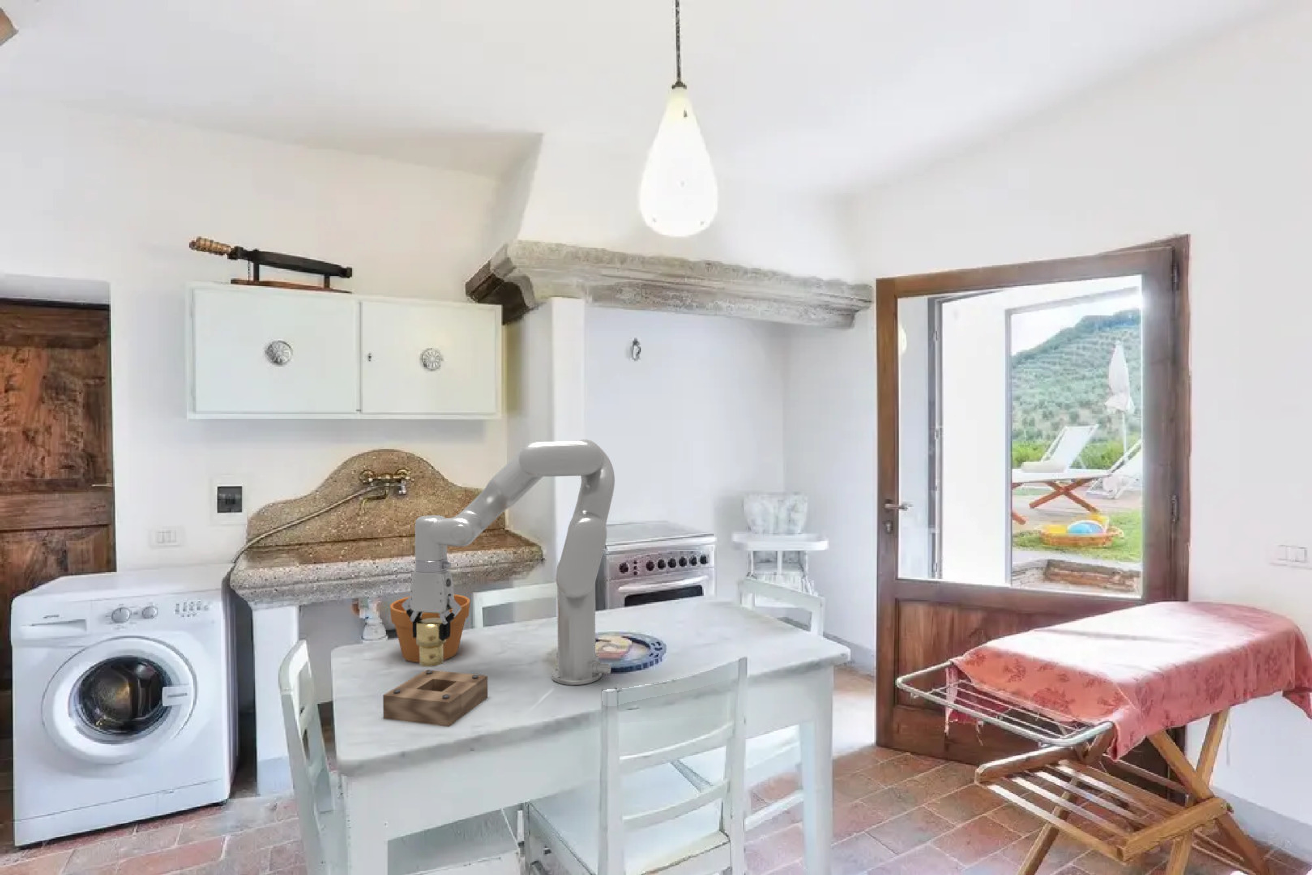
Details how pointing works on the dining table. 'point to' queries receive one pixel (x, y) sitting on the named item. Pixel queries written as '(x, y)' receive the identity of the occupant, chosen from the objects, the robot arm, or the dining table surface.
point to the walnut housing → (435, 697)
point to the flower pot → (406, 625)
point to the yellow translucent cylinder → (429, 641)
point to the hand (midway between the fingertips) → (431, 636)
